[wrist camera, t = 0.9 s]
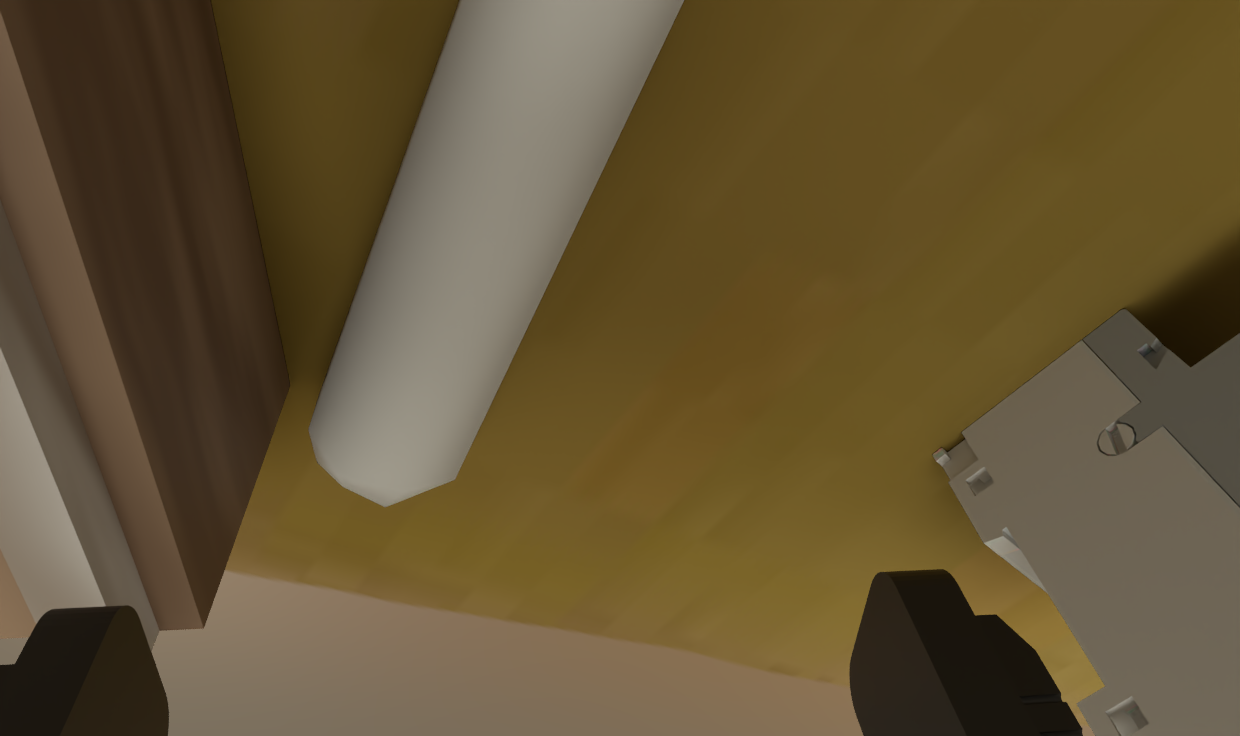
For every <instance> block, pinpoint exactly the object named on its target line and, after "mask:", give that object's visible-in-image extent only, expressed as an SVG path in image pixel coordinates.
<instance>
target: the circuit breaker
mask: <svg viewBox="0 0 1240 736" xmlns="http://www.w3.org/2000/svg"><path fill="white" fill-rule="evenodd" d="M1083 340H1084V341H1085V342H1086V344H1087V345H1088V346H1089V347H1090V348H1091V349H1092V350H1093V351H1094V352H1095V353H1096V354H1097V355H1098V356H1099V357H1100V358H1101V359H1102V360H1103V362H1104V363H1105V364H1106V365H1107V366H1108V367H1109V368H1110V369H1111V370H1112V371H1113V372H1114V373H1115V374H1116V375H1115V374H1114V373H1113V372H1112V371H1111V370H1110V369H1109V368H1108V367H1107V366H1106V365H1105V364H1104V363H1103V362H1102V361H1101V360H1100V359H1099V358H1098V356H1097V355H1096V354H1095V353H1094V352H1093V351H1092V350H1091V349H1090V348H1089V347H1088V346H1087V345H1086V344H1085V343H1084V342H1083V341H1082V340H1081V341H1080V342H1078V343H1077V344H1076V345H1075V346H1073V347H1072V348H1071V349H1069V350H1068V351H1067V352H1065V353H1064V354H1063V355H1061V356H1060V357H1059V358H1058V359H1056V360H1055V361H1054V362H1052V363H1051V364H1050V365H1048V366H1047V367H1046V368H1045V369H1043V370H1042V371H1041V372H1039V373H1038V374H1037V375H1035V376H1034V377H1033V378H1032V379H1030V380H1029V381H1028V382H1026V383H1025V384H1024V385H1022V386H1021V387H1020V388H1018V389H1017V390H1016V391H1015V392H1013V393H1012V394H1011V395H1009V396H1008V397H1007V398H1005V399H1004V400H1003V401H1002V402H1000V403H999V404H998V405H996V406H995V407H994V408H992V409H991V410H990V411H988V412H987V413H986V414H985V415H983V416H982V417H981V418H979V419H978V420H977V421H975V422H974V423H973V424H972V425H970V426H969V427H968V428H966V429H965V430H964V431H962V432H961V433H962V434H963V436H964V437H965V440H963V441H962V442H961V443H959V444H958V445H957V446H956V447H954V448H953V449H952V450H950V451H949V452H946V451H945V450H944V449H943V448H940V449H939V450H938V451H936V452H935V453H934V454H932V455H933V457H934V458H935V460H936V462H938V463H939V464H940V465H941V466H942V467H943V468H944V470H945V472H946V474H947V475H948V477H949V479H950V480H951V481H949V482H948V483H949V484H950V486H951V488H952V489H953V491H954V493H955V495H956V496H957V498H958V500H959V502H960V503H961V505H962V507H963V508H964V510H965V512H966V514H967V515H968V517H969V519H970V521H971V522H972V524H973V526H974V527H975V529H976V531H977V533H978V534H979V536H980V538H981V540H982V541H983V543H984V544H985V545H987V546H988V547H989V548H991V549H992V550H993V551H994V552H996V553H997V554H998V555H999V556H1001V557H1002V558H1003V559H1005V560H1006V561H1007V562H1008V563H1010V564H1011V565H1012V566H1013V567H1015V568H1016V569H1017V570H1019V571H1020V572H1021V573H1022V574H1024V575H1025V576H1026V577H1028V578H1029V579H1030V580H1031V581H1033V582H1034V583H1035V584H1036V585H1038V586H1039V587H1040V588H1042V589H1043V590H1044V591H1045V592H1047V593H1048V595H1049V596H1050V598H1051V599H1052V601H1053V603H1054V604H1055V606H1056V607H1057V609H1058V611H1059V612H1060V614H1061V615H1062V617H1063V619H1064V620H1065V622H1066V624H1067V625H1068V627H1069V628H1070V630H1071V632H1072V633H1073V635H1074V636H1075V638H1076V640H1077V641H1078V643H1079V644H1080V646H1081V648H1082V649H1083V651H1084V653H1085V654H1086V656H1087V657H1088V659H1089V661H1090V662H1091V664H1092V665H1093V667H1094V669H1095V670H1096V672H1097V673H1098V675H1099V677H1100V678H1101V680H1102V682H1103V683H1104V685H1105V687H1103V688H1102V689H1100V690H1098V691H1097V692H1095V693H1093V694H1092V695H1090V696H1088V697H1087V698H1085V699H1083V700H1082V701H1080V702H1078V703H1077V705H1078V707H1079V709H1080V710H1081V712H1082V714H1083V715H1084V717H1085V719H1086V721H1087V722H1088V724H1089V726H1090V728H1091V729H1092V731H1093V733H1094V734H1095V736H1240V333H1239V334H1238V335H1236V336H1235V337H1233V338H1232V339H1231V340H1229V341H1228V342H1226V343H1225V344H1224V345H1222V346H1221V347H1219V348H1218V349H1216V350H1215V351H1214V352H1212V353H1211V354H1209V355H1208V356H1207V357H1205V358H1204V359H1202V360H1201V361H1200V362H1198V363H1197V364H1195V365H1194V366H1192V367H1191V368H1190V367H1189V366H1188V365H1187V364H1186V363H1185V362H1183V361H1182V360H1181V359H1180V358H1179V357H1177V356H1176V355H1175V354H1174V353H1173V352H1172V351H1170V350H1169V349H1167V348H1166V347H1165V346H1164V345H1163V344H1162V343H1161V342H1160V341H1159V340H1158V339H1157V338H1156V337H1155V336H1154V335H1153V334H1152V333H1151V332H1150V331H1149V330H1148V329H1147V328H1146V327H1145V326H1143V325H1142V324H1141V323H1140V322H1139V321H1138V320H1137V319H1136V318H1135V317H1134V316H1133V315H1132V314H1131V313H1129V312H1128V311H1127V310H1126V309H1123V310H1120V311H1119V312H1118V313H1116V314H1115V315H1114V316H1112V317H1111V318H1110V319H1108V320H1107V321H1106V322H1105V323H1103V324H1102V325H1101V326H1099V327H1098V328H1097V329H1095V330H1094V331H1093V332H1091V333H1090V334H1089V335H1088V336H1086V337H1085V338H1084V339H1083ZM1128 388H1129V389H1130V390H1131V391H1132V392H1133V393H1134V394H1135V395H1136V396H1135V395H1134V394H1133V393H1132V392H1131V391H1130V390H1129V389H1128Z"/></svg>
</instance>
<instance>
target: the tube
mask: <svg viewBox="0 0 1240 736" xmlns="http://www.w3.org/2000/svg"><path fill="white" fill-rule="evenodd" d="M683 2H684V0H459V3H458V5H457V8H456V11H455V14H454V17H453V20H452V22H451V25H450V28H449V31H448V34H447V36H446V39H445V42H444V45H443V48H442V50H441V53H440V56H439V59H438V62H437V64H436V67H435V70H434V73H433V76H432V79H431V81H430V84H429V87H428V90H427V93H426V95H425V98H424V101H423V104H422V107H421V109H420V112H419V115H418V118H417V121H416V123H415V126H414V129H413V132H412V135H411V138H410V140H409V143H408V146H407V149H406V152H405V154H404V157H403V160H402V163H401V166H400V168H399V171H398V174H397V177H396V180H395V182H394V185H393V188H392V191H391V194H390V197H389V199H388V202H387V205H386V208H385V211H384V213H383V216H382V219H381V222H380V225H379V227H378V230H377V233H376V236H375V239H374V242H373V244H372V247H371V250H370V253H369V256H368V258H367V261H366V264H365V267H364V270H363V272H362V275H361V278H360V281H359V284H358V286H357V289H356V292H355V295H354V298H353V301H352V303H351V306H350V309H349V312H348V315H347V317H346V320H345V323H344V326H343V329H342V331H341V334H340V337H339V340H338V343H337V345H336V348H335V351H334V354H333V357H332V360H331V362H330V365H329V368H328V371H327V374H326V376H325V379H324V382H323V385H322V388H321V390H320V393H319V397H318V400H317V403H316V407H315V410H314V413H313V416H312V420H311V423H310V426H309V434H310V437H311V441H312V445H313V449H314V452H315V456H316V460H317V463H318V464H319V465H321V466H322V467H323V468H324V469H325V470H326V471H327V472H328V473H329V474H330V475H331V476H332V477H333V478H334V479H335V480H336V481H337V482H338V483H339V484H340V485H341V486H342V487H344V488H347V489H349V490H351V491H353V492H355V493H357V494H359V495H361V496H363V497H365V498H367V499H369V500H371V501H374V502H376V503H378V504H380V505H382V506H384V507H387V506H390V505H392V504H395V503H397V502H400V501H402V500H405V499H407V498H410V497H412V496H415V495H417V494H420V493H423V492H425V491H428V490H430V489H433V488H435V487H438V486H440V485H443V484H445V483H448V482H450V481H453V480H455V478H456V476H457V474H458V472H459V470H460V468H461V466H462V464H463V461H464V459H465V457H466V455H467V453H468V451H469V449H470V447H471V445H472V443H473V441H474V438H475V436H476V434H477V432H478V430H479V428H480V426H481V424H482V422H483V420H484V418H485V415H486V413H487V411H488V409H489V407H490V405H491V403H492V401H493V399H494V397H495V395H496V392H497V390H498V388H499V386H500V384H501V382H502V380H503V378H504V376H505V374H506V372H507V369H508V367H509V365H510V363H511V361H512V359H513V357H514V355H515V353H516V351H517V349H518V347H519V344H520V342H521V340H522V338H523V336H524V334H525V332H526V330H527V328H528V326H529V324H530V321H531V319H532V317H533V315H534V313H535V311H536V309H537V307H538V305H539V303H540V301H541V298H542V296H543V294H544V292H545V290H546V288H547V286H548V284H549V282H550V280H551V278H552V275H553V273H554V271H555V269H556V267H557V265H558V263H559V261H560V259H561V257H562V255H563V252H564V250H565V248H566V246H567V244H568V242H569V240H570V238H571V236H572V234H573V232H574V229H575V227H576V225H577V223H578V221H579V219H580V217H581V215H582V213H583V211H584V209H585V206H586V204H587V202H588V200H589V198H590V196H591V194H592V192H593V190H594V188H595V186H596V183H597V181H598V179H599V177H600V175H601V173H602V171H603V169H604V167H605V165H606V163H607V160H608V158H609V156H610V154H611V152H612V150H613V148H614V146H615V144H616V142H617V140H618V138H619V135H620V133H621V131H622V129H623V127H624V125H625V123H626V121H627V119H628V117H629V115H630V112H631V110H632V108H633V106H634V104H635V102H636V100H637V98H638V96H639V94H640V92H641V89H642V87H643V85H644V83H645V81H646V79H647V77H648V75H649V73H650V71H651V69H652V66H653V64H654V62H655V60H656V58H657V56H658V54H659V52H660V50H661V48H662V46H663V43H664V41H665V39H666V37H667V35H668V33H669V31H670V29H671V27H672V25H673V23H674V20H675V18H676V16H677V14H678V12H679V10H680V8H681V6H682V4H683Z"/></svg>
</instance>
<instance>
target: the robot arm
mask: <svg viewBox="0 0 1240 736" xmlns="http://www.w3.org/2000/svg"><path fill="white" fill-rule="evenodd" d="M850 689H851V696H852V701H853V706H854V709H855V713H856V716H857V719H858V721H859V724H860V727H861V730H862V732H863V735H864V736H1083V735H1082V728H1081V726H1080V724H1079V723H1078V721H1077V719H1076V718H1075V716H1074V714H1073V713H1072V711H1071V709H1070V708H1069V706H1068V704H1067V702H1062V700H1061V692H1060V691H1059V689H1058V687H1057V686H1056V684H1055V682H1054V681H1053V679H1052V677H1051V676H1050V674H1049V672H1048V671H1047V669H1046V667H1045V666H1044V664H1043V662H1042V661H1041V659H1040V657H1039V655H1038V654H1037V652H1036V650H1034V649H1033V648H1032V647H1031V646H1030V645H1029V644H1028V643H1027V642H1026V641H1025V640H1023V639H1022V638H1021V637H1020V636H1019V635H1018V634H1017V633H1016V632H1015V631H1014V630H1013V629H1011V628H1010V627H1009V626H1008V625H1007V624H1006V623H1005V622H1004V621H1003V620H1002V619H1000V618H999V617H998V616H997V615H977V616H975V615H974V613H973V611H972V609H971V607H970V606H969V604H968V602H967V600H966V598H965V597H964V595H963V593H962V591H961V589H960V587H959V586H958V584H957V582H956V581H955V579H954V578H953V576H952V575H951V574H950V573H949V572H947V571H945V570H943V569H937V570H916V571H895V572H880V573H877V575H876V576H875V577H874V579H873V581H872V584H871V587H870V591H869V594H868V598H867V602H866V605H865V609H864V612H863V616H862V620H861V623H860V627H859V631H858V634H857V638H856V642H855V645H854V649H853V652H852V656H851V661H850ZM168 726H169V710H168V702H167V697H166V693H165V690H164V687H163V684H162V681H161V678H160V676H159V673H158V670H157V667H156V664H155V661H154V659H153V656H152V653H151V650H150V647H149V644H148V641H147V638H146V635H145V632H144V630H143V627H142V624H141V621H140V618H139V616H138V613H137V612H136V610H135V609H134V608H133V607H132V606H129V605H124V606H103V607H82V608H61V609H51V610H49V611H47V612H46V613H45V614H44V615H43V616H42V617H41V618H40V619H39V621H38V622H37V624H36V626H35V627H34V629H33V631H32V633H31V635H30V637H29V639H28V640H27V642H26V644H25V646H24V648H23V650H22V652H21V654H20V655H19V658H18V659H17V661H16V663H15V664H12V665H0V736H168Z"/></svg>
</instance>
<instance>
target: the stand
mask: <svg viewBox="0 0 1240 736" xmlns="http://www.w3.org/2000/svg"><path fill="white" fill-rule="evenodd" d="M289 387H290V382H289V377H288V372H287V368H286V363H285V358H284V353H283V348H282V343H281V339H280V334H279V329H278V324H277V319H276V315H275V310H274V305H273V300H272V295H271V290H270V286H269V281H268V276H267V271H266V266H265V261H264V257H263V252H262V247H261V242H260V237H259V233H258V228H257V223H256V218H255V213H254V208H253V204H252V199H251V194H250V189H249V184H248V179H247V175H246V170H245V165H244V160H243V155H242V151H241V146H240V141H239V136H238V131H237V126H236V122H235V117H234V112H233V107H232V102H231V97H230V93H229V88H228V83H227V78H226V73H225V69H224V64H223V59H222V54H221V49H220V44H219V40H218V35H217V30H216V25H215V20H214V15H213V11H212V6H211V1H210V0H0V639H3V638H21V637H22V638H23V637H30V635H31V633H32V631H33V629H34V627H35V626H36V624H37V622H38V621H39V619H40V618H41V617H42V616H43V615H44V614H45V613H46V612H47V611H49V610H51V609H61V608H82V607H103V606H124V605H129V606H132V607H133V608H134V609H135V610H136V612H137V613H138V616H139V618H140V621H141V624H142V627H143V630H144V632H145V635H146V638H147V641H148V644H149V647H150V650H151V651H152V648H153V646H154V643H155V641H156V638H157V635H158V633H159V631H161V630H180V629H181V630H182V629H200V628H201V629H202V628H204V626H205V623H206V620H207V618H208V615H209V612H210V609H211V606H212V604H213V601H214V598H215V595H216V593H217V590H218V587H219V584H220V581H221V578H222V576H223V573H224V570H225V567H226V564H227V562H228V559H229V556H230V553H231V550H232V548H233V545H234V542H235V539H236V536H237V533H238V531H239V528H240V525H241V522H242V519H243V517H244V514H245V511H246V508H247V505H248V503H249V500H250V497H251V494H252V491H253V489H254V486H255V483H256V480H257V477H258V474H259V472H260V469H261V466H262V463H263V460H264V458H265V455H266V452H267V449H268V446H269V444H270V441H271V438H272V435H273V432H274V429H275V427H276V424H277V421H278V418H279V415H280V413H281V410H282V407H283V404H284V401H285V399H286V396H287V393H288V390H289Z"/></svg>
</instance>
